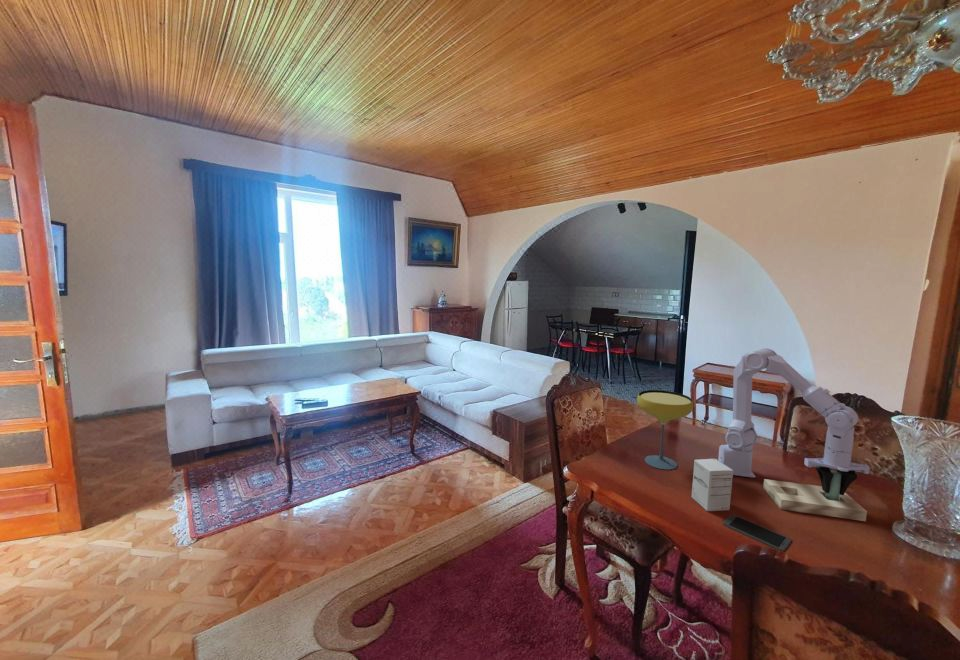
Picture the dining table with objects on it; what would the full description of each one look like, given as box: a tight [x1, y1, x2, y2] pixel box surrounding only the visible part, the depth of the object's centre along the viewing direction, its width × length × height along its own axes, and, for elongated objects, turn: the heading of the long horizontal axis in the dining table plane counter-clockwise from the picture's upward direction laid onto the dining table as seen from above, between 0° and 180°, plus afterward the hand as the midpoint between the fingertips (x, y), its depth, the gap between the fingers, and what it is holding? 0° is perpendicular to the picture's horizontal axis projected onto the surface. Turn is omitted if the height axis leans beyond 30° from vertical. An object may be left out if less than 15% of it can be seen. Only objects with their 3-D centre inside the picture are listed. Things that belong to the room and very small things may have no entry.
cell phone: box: [721, 513, 792, 553], centre depth 101 cm, size 7×14×1 cm, turn 37°
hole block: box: [762, 478, 868, 522], centre depth 114 cm, size 20×12×3 cm, turn 73°
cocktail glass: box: [636, 389, 694, 471], centre depth 138 cm, size 18×18×25 cm
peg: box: [825, 469, 842, 501], centre depth 112 cm, size 3×3×9 cm
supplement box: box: [691, 458, 734, 512], centre depth 113 cm, size 7×7×13 cm
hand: (832, 492), depth 112 cm, fingers closed on peg, 3 cm apart
